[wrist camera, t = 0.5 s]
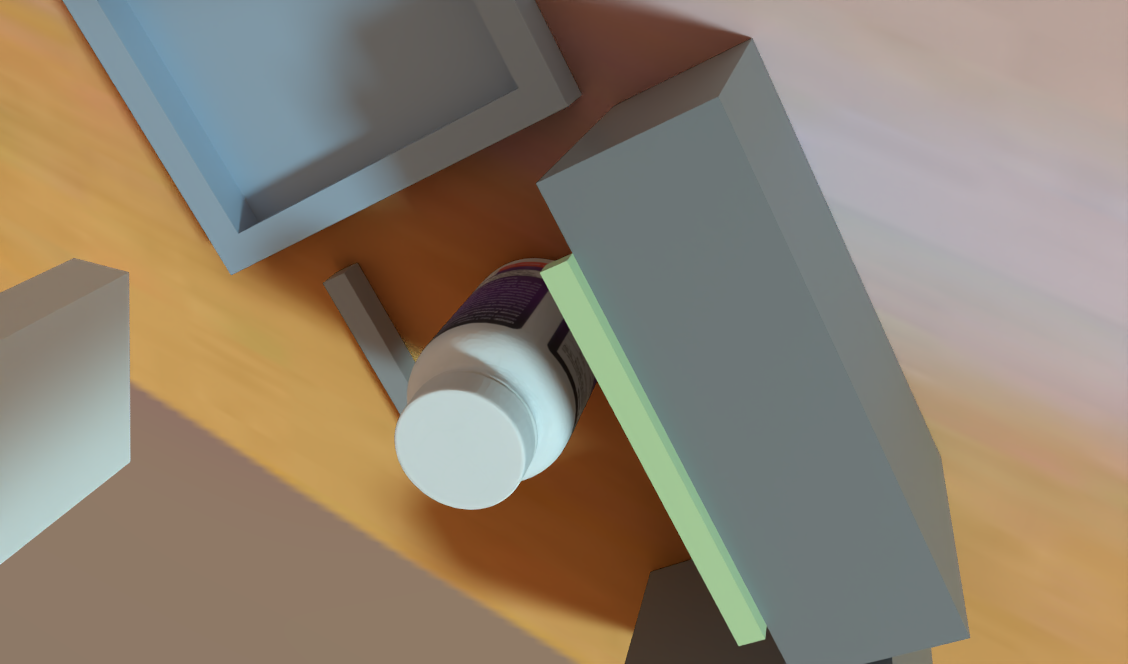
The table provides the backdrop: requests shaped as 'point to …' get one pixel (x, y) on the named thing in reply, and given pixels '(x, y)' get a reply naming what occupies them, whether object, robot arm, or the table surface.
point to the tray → (319, 99)
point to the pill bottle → (493, 392)
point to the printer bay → (739, 383)
